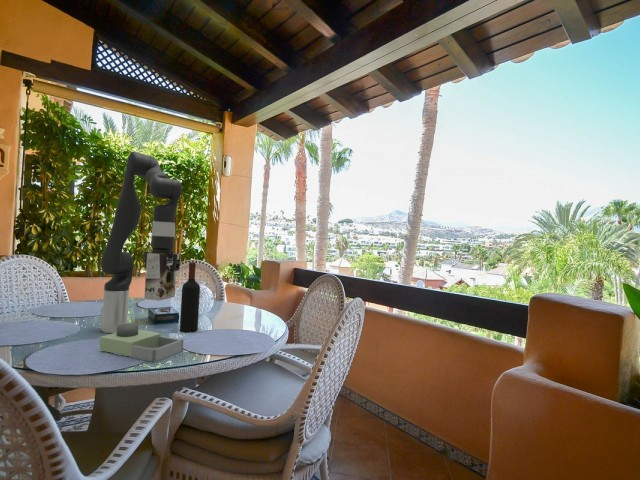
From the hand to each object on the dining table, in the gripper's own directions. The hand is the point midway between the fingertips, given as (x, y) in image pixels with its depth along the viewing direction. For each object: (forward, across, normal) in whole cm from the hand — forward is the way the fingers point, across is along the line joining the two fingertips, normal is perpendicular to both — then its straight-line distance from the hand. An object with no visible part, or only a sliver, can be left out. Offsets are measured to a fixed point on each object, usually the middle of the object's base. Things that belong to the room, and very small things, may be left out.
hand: (160, 281), depth 132 cm
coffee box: (+6, 0, 0) cm, 6 cm away
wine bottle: (+26, +10, -31) cm, 42 cm away
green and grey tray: (+25, +5, 0) cm, 26 cm away
